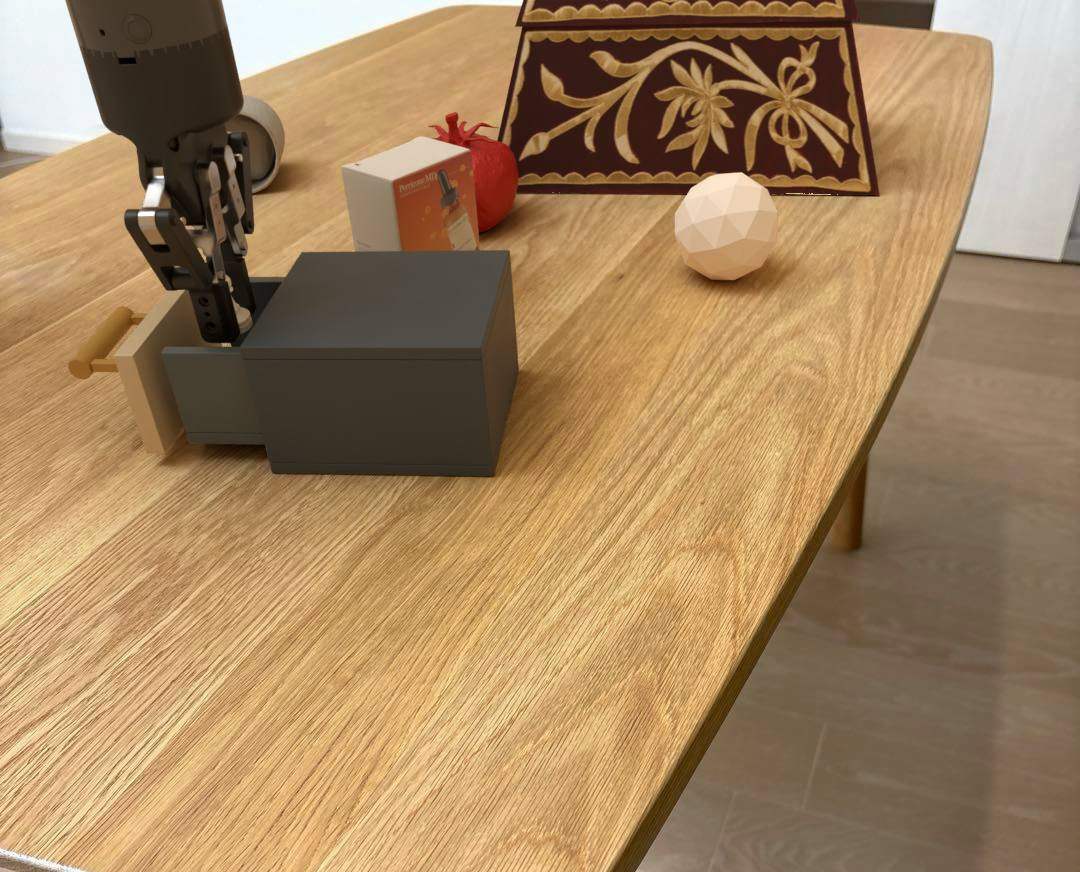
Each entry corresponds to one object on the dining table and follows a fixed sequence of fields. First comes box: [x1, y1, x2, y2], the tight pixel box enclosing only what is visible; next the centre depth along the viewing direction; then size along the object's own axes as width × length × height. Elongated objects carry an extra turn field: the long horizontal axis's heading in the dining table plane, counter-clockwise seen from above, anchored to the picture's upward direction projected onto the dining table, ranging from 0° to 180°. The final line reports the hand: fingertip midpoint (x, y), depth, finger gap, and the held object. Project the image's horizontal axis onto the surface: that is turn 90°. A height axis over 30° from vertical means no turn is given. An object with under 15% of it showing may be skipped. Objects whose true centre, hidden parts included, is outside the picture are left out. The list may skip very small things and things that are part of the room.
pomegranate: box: [427, 111, 518, 233], centre depth 91 cm, size 10×10×9 cm
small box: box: [340, 135, 481, 252], centre depth 79 cm, size 8×6×10 cm
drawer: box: [67, 276, 286, 455], centre depth 67 cm, size 17×11×7 cm
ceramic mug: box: [224, 94, 286, 194], centre depth 102 cm, size 11×8×8 cm
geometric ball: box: [674, 172, 779, 281], centre depth 80 cm, size 8×8×8 cm
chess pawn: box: [225, 275, 253, 335], centre depth 65 cm, size 3×3×4 cm
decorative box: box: [496, 0, 881, 197], centre depth 97 cm, size 35×19×20 cm, turn 81°
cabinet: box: [240, 249, 520, 477], centre depth 66 cm, size 14×13×9 cm
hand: (230, 326), depth 66 cm, fingers closed on chess pawn, 2 cm apart
